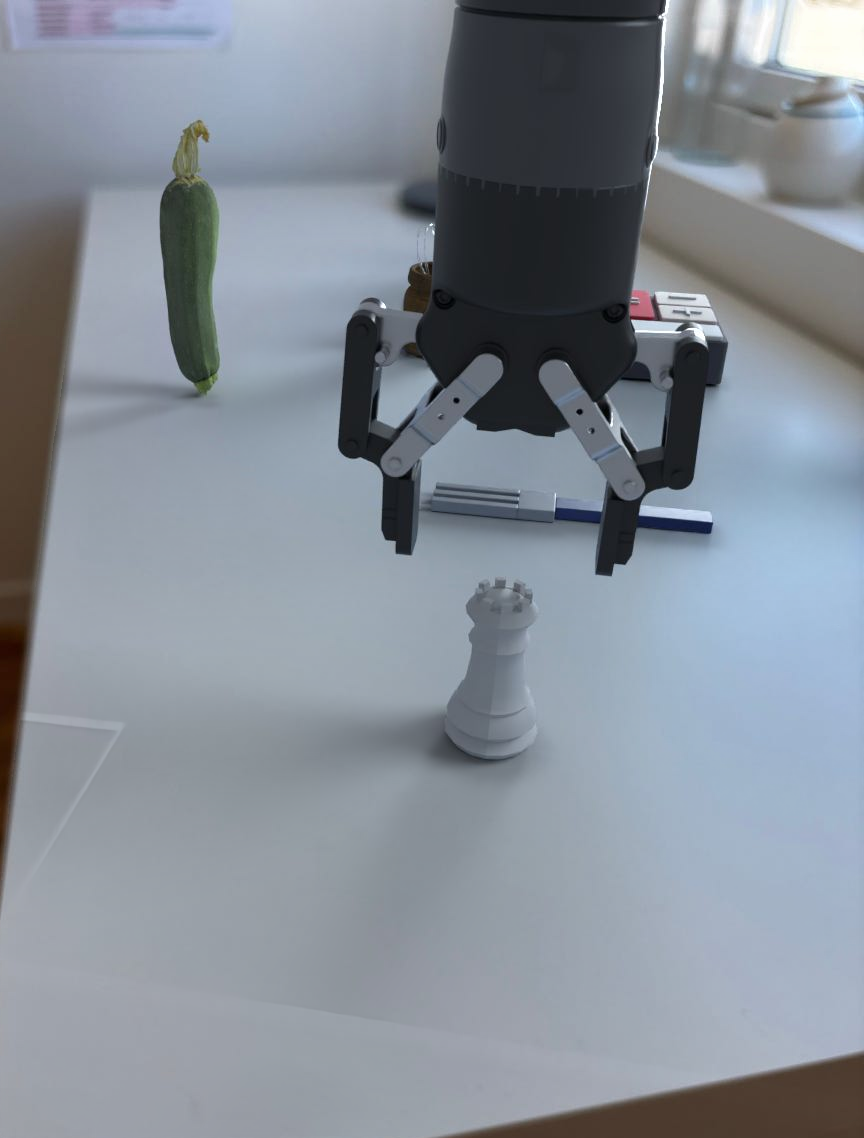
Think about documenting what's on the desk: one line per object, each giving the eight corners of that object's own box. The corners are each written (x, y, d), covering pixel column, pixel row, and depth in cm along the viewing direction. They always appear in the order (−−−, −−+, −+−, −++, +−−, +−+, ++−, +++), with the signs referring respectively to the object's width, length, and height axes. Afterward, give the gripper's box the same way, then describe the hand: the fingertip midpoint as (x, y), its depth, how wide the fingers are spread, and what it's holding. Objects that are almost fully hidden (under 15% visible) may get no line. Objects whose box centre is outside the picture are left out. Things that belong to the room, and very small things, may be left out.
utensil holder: (390, 352, 99) (394, 210, 93) (419, 333, 104) (425, 196, 98) (452, 364, 97) (461, 219, 91) (479, 343, 102) (489, 204, 96)
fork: (708, 518, 74) (710, 507, 74) (711, 538, 72) (714, 526, 71) (436, 492, 76) (436, 481, 76) (430, 510, 74) (431, 499, 74)
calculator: (711, 291, 105) (731, 333, 92) (703, 337, 107) (721, 385, 94) (591, 283, 106) (595, 324, 93) (586, 329, 108) (588, 375, 96)
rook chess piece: (533, 770, 52) (552, 623, 48) (437, 757, 53) (447, 611, 48) (539, 713, 56) (557, 571, 51) (449, 701, 56) (459, 561, 52)
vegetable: (162, 394, 90) (139, 120, 79) (189, 376, 93) (171, 112, 82) (211, 403, 89) (195, 125, 78) (237, 385, 92) (225, 117, 81)
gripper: (739, 150, 42) (666, 534, 51) (365, 127, 44) (357, 503, 53) (762, 192, 36) (674, 621, 45) (326, 162, 38) (324, 582, 47)
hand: (503, 557), depth 49 cm, fingers open, 8 cm apart
